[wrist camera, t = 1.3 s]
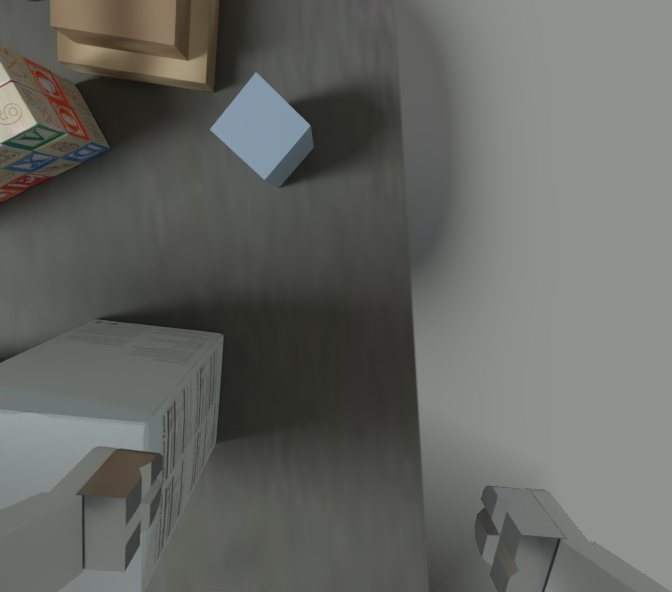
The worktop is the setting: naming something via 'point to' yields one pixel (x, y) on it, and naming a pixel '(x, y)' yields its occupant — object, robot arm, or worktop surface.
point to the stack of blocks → (40, 125)
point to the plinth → (151, 65)
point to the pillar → (265, 131)
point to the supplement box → (112, 420)
